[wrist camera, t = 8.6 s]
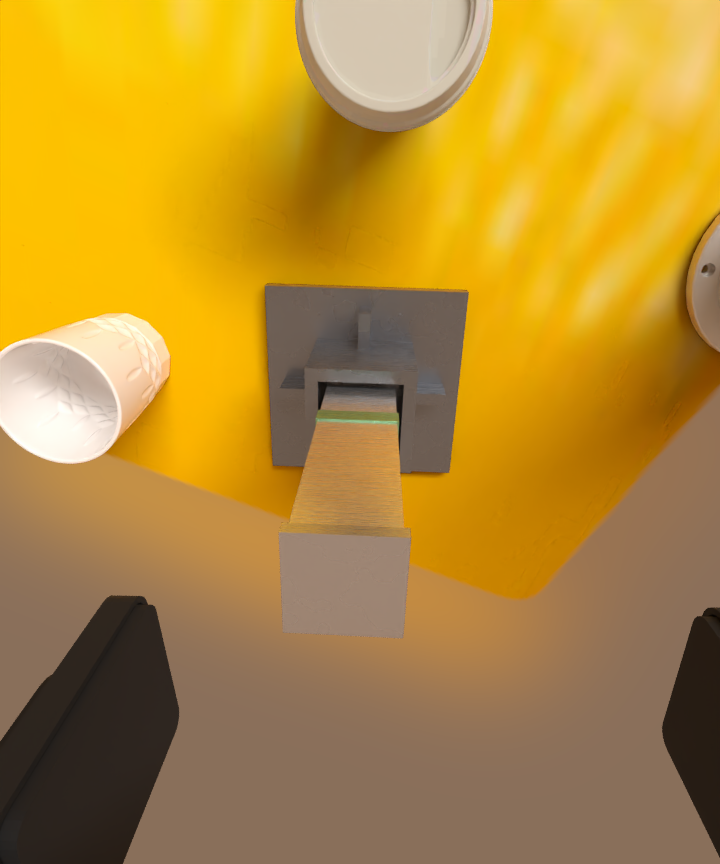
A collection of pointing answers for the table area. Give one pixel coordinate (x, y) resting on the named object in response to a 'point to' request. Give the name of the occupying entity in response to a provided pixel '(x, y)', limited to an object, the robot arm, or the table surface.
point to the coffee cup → (392, 56)
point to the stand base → (365, 362)
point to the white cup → (80, 385)
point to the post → (348, 522)
